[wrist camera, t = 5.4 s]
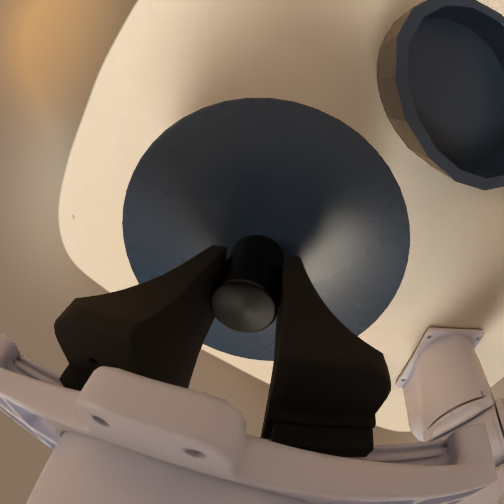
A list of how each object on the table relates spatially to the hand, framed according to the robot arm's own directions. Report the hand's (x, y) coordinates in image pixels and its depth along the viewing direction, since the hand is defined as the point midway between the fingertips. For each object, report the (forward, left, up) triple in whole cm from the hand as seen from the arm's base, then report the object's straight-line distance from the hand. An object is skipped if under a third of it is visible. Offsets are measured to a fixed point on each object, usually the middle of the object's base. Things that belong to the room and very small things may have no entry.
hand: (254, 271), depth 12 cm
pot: (+10, -12, -10) cm, 19 cm away
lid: (0, 0, -2) cm, 2 cm away
